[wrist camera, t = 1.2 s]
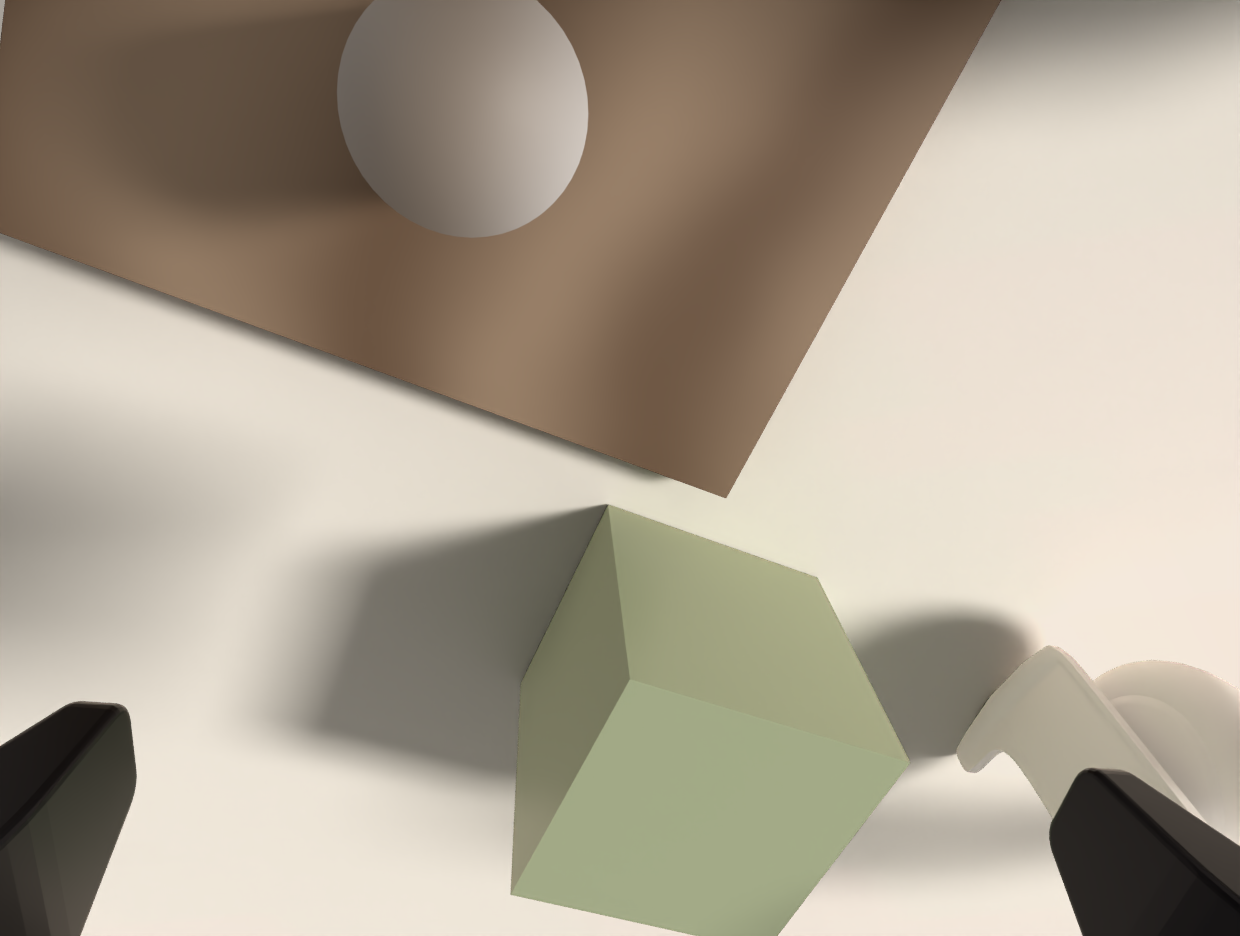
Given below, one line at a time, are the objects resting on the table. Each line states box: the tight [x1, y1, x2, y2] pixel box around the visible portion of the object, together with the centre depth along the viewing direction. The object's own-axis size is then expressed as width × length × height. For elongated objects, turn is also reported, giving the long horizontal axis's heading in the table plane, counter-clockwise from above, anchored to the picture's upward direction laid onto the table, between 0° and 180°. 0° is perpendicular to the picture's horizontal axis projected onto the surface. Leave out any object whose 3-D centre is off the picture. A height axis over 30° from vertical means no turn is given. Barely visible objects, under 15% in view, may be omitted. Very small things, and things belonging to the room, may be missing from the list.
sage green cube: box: [511, 505, 910, 936], centre depth 20 cm, size 6×6×7 cm
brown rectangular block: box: [0, 0, 1001, 498], centre depth 14 cm, size 16×12×7 cm
